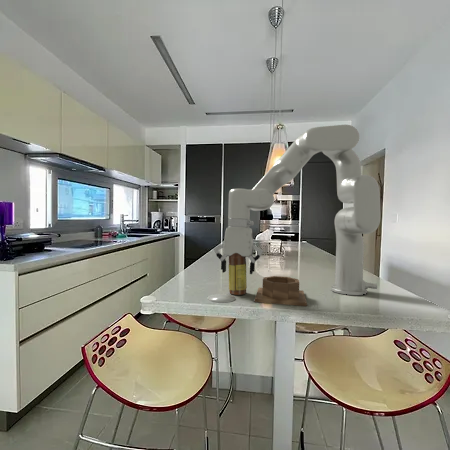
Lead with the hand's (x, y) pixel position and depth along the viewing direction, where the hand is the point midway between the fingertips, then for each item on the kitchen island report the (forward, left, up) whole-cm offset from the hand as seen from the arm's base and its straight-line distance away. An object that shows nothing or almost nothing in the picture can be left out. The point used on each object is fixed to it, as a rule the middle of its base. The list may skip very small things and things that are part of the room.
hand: (237, 272), depth 100 cm
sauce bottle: (0, 0, -7) cm, 7 cm away
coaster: (+4, +8, -8) cm, 12 cm away
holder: (-15, +1, -7) cm, 17 cm away
